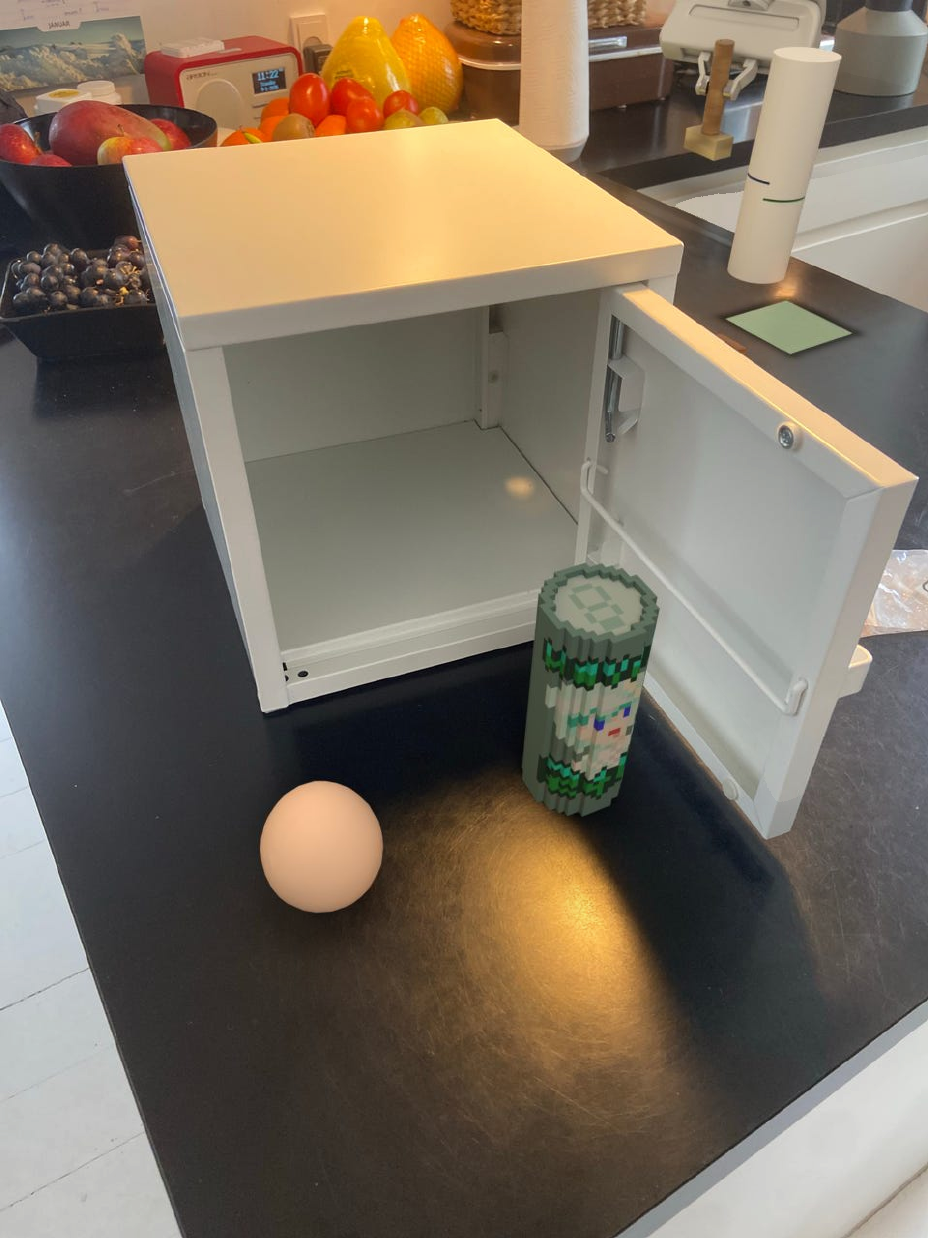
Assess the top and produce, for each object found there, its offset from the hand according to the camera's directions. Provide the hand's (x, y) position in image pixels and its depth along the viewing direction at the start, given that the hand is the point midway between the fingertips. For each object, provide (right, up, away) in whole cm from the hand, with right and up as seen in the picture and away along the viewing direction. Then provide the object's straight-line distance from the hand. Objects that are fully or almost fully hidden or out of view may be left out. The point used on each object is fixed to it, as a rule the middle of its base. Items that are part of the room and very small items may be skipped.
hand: (714, 94), depth 118 cm
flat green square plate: (+5, -35, -13) cm, 38 cm away
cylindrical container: (+5, -25, -1) cm, 25 cm away
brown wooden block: (-5, -41, -19) cm, 45 cm away
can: (-25, -78, -59) cm, 101 cm away
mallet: (0, -5, +6) cm, 7 cm away
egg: (-40, -83, -65) cm, 113 cm away
